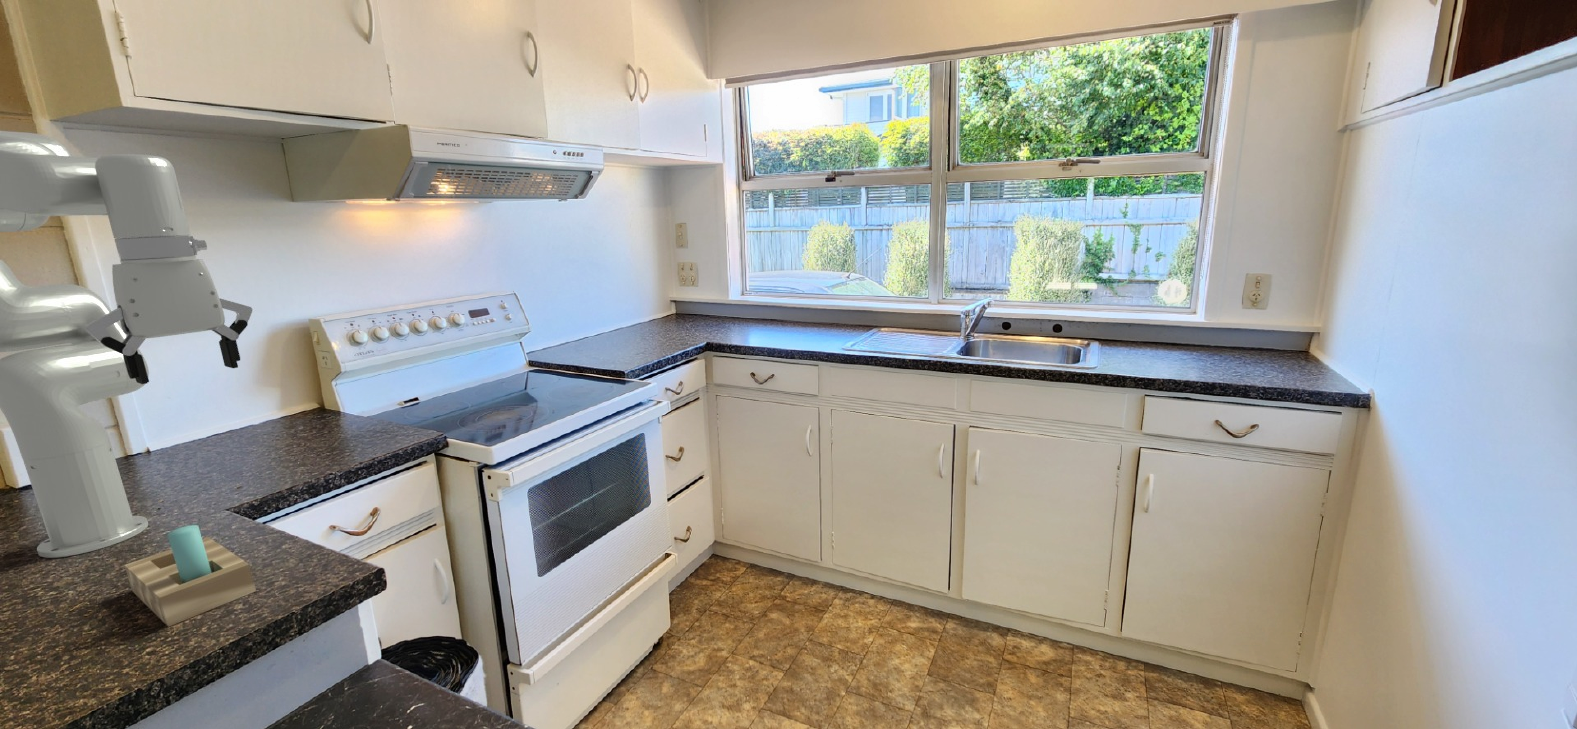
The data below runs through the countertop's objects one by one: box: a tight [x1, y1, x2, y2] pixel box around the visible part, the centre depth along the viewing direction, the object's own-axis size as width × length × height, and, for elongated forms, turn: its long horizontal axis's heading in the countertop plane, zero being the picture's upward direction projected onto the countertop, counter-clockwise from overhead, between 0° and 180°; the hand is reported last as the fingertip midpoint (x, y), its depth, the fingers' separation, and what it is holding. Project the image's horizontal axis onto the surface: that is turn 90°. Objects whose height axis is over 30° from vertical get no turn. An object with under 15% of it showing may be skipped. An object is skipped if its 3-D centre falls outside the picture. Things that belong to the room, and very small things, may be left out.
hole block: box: [123, 536, 257, 627], centre depth 89 cm, size 16×9×4 cm, turn 56°
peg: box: [167, 524, 212, 584], centre depth 86 cm, size 3×3×10 cm
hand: (189, 374), depth 92 cm, fingers open, 9 cm apart
